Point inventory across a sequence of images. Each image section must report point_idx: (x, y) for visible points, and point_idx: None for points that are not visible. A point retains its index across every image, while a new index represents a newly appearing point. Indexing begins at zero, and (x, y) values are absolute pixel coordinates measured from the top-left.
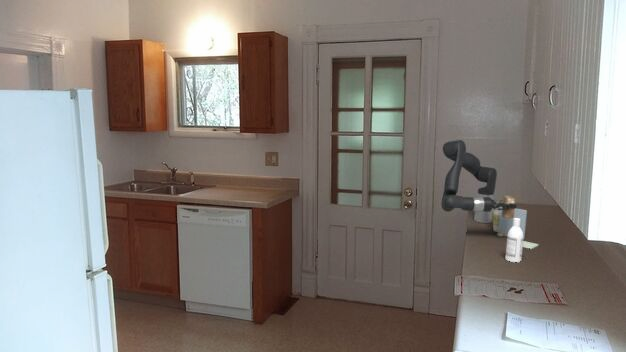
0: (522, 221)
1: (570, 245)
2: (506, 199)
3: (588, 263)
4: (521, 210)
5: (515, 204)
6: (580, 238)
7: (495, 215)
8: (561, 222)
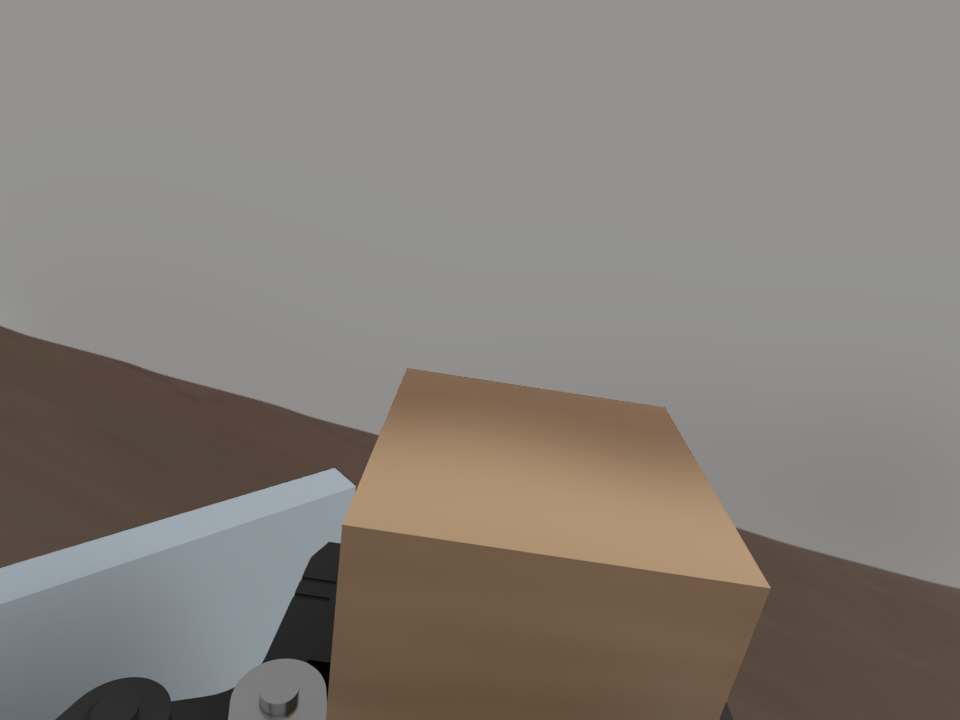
0: None
1: None
2: (713, 668)
3: (901, 634)
4: (293, 515)
5: None
6: (360, 431)
7: None
8: (42, 355)
